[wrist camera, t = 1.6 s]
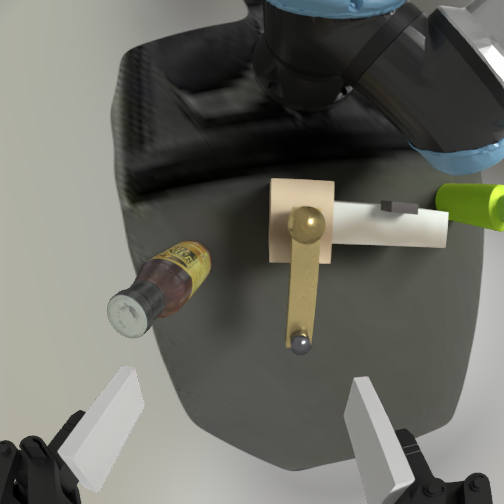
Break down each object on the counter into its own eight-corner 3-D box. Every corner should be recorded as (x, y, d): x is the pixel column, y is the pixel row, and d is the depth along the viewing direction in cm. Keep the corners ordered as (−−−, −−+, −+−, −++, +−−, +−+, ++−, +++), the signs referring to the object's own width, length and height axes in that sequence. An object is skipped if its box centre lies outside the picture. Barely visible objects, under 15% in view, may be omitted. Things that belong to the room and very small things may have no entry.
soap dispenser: (428, 216, 37) (520, 238, 17) (440, 177, 35) (533, 176, 16) (452, 231, 37) (540, 258, 17) (464, 193, 35) (552, 202, 16)
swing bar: (287, 204, 24) (290, 206, 21) (322, 206, 24) (330, 208, 21) (281, 339, 27) (282, 356, 24) (312, 339, 27) (317, 355, 24)
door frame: (269, 183, 37) (272, 176, 23) (403, 192, 36) (462, 195, 22) (268, 241, 39) (269, 269, 25) (399, 245, 38) (455, 271, 24)
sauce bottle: (211, 238, 39) (161, 280, 20) (214, 280, 40) (173, 353, 21) (168, 239, 40) (91, 279, 20) (172, 281, 41) (106, 346, 21)
